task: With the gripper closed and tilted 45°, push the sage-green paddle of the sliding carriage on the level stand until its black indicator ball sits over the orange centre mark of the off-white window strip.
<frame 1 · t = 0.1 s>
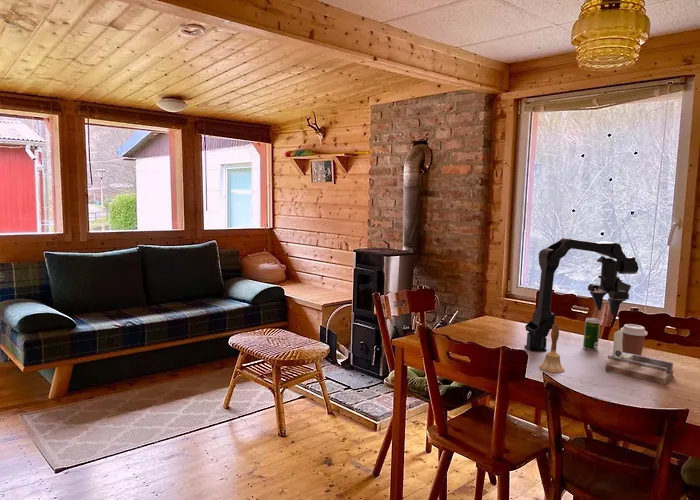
hand: (605, 312, 206), 15 cm above the table, tool pointing down, fingers open, 9 cm apart
beer can: (590, 349, 207), on the table
carriage: (621, 348, 181), point 8 cm above the table, slide at 0.0 cm
coffee cup: (631, 357, 197), on the table
level stand: (638, 373, 179), on the table
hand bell: (551, 369, 181), on the table
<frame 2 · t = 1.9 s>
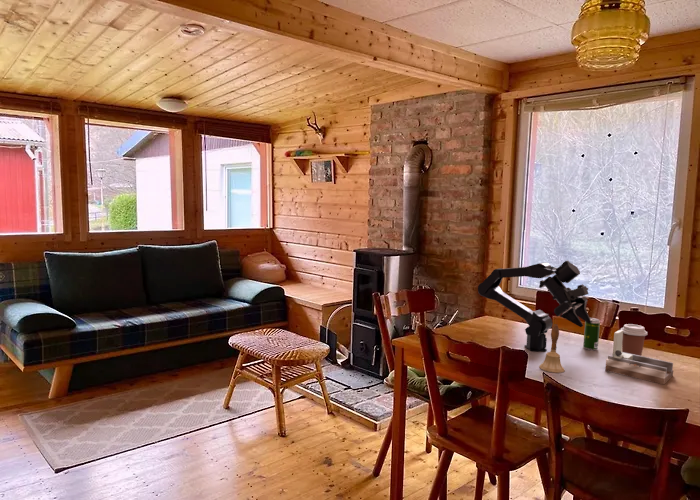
hand: (586, 324, 190), 13 cm above the table, tool tilted 45°, fingers open, 8 cm apart
nothing on the table moved.
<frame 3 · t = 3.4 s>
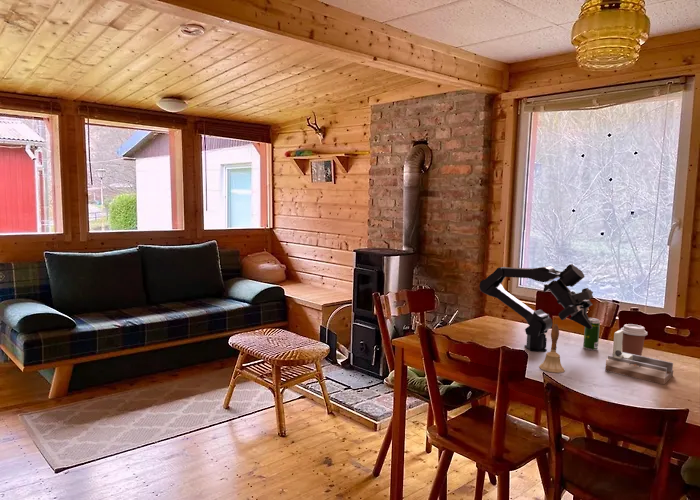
hand: (591, 328, 189), 12 cm above the table, tool tilted 45°, fingers closed
nothing on the table moved.
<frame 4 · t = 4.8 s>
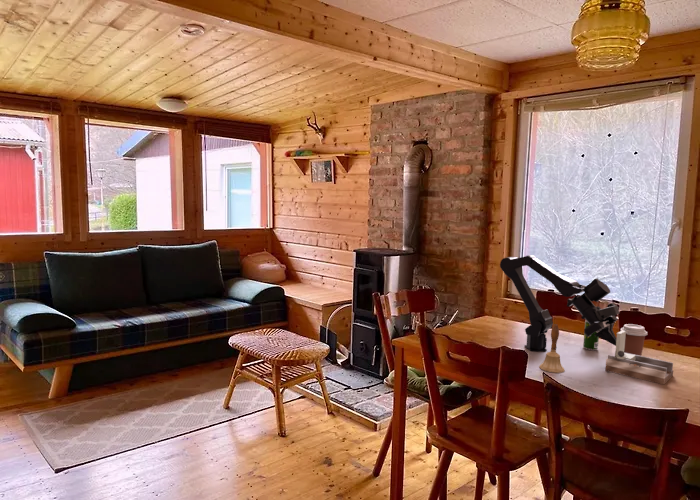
hand: (617, 345, 183), 8 cm above the table, tool tilted 45°, fingers closed, pressing on carriage
carriage: (624, 349, 180), point 8 cm above the table, slide at 0.9 cm, touching gripper
everything else where it was.
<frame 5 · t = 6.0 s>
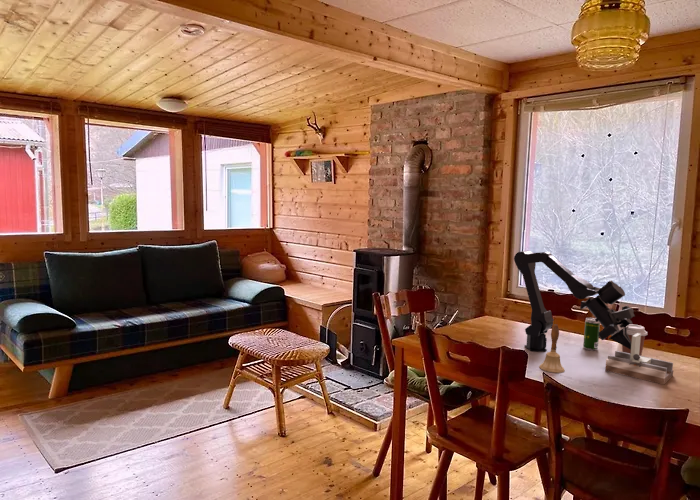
hand: (632, 348, 180), 8 cm above the table, tool tilted 45°, fingers closed
carriage: (639, 352, 177), point 8 cm above the table, slide at 5.7 cm
everything else where it was.
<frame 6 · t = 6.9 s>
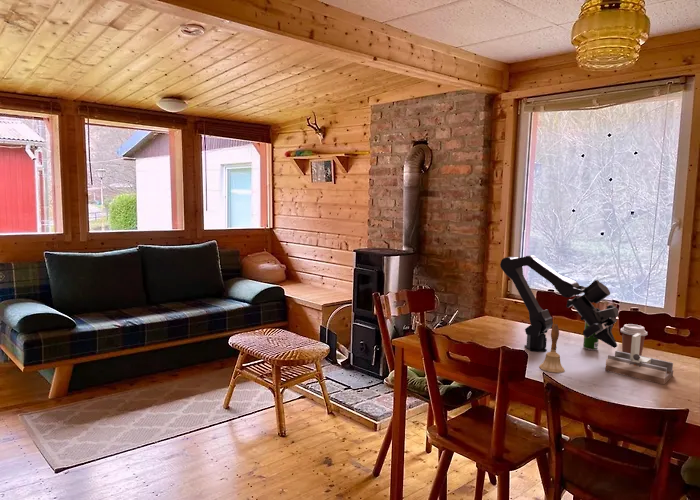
hand: (616, 347, 184), 7 cm above the table, tool tilted 45°, fingers closed
nothing on the table moved.
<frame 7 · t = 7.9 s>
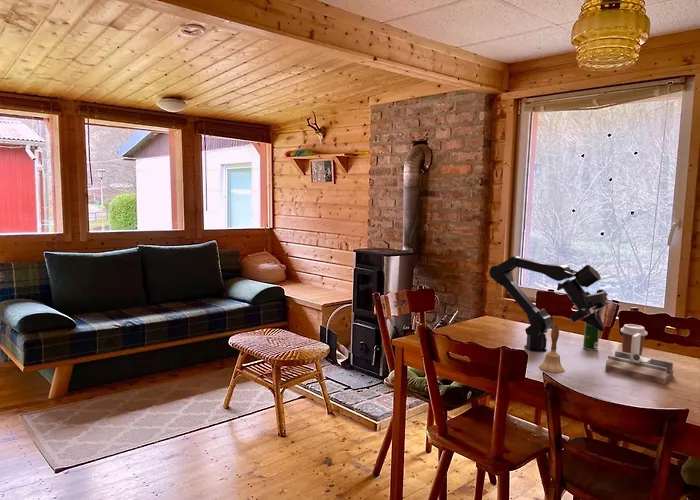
hand: (603, 330, 187), 12 cm above the table, tool tilted 40°, fingers closed
nothing on the table moved.
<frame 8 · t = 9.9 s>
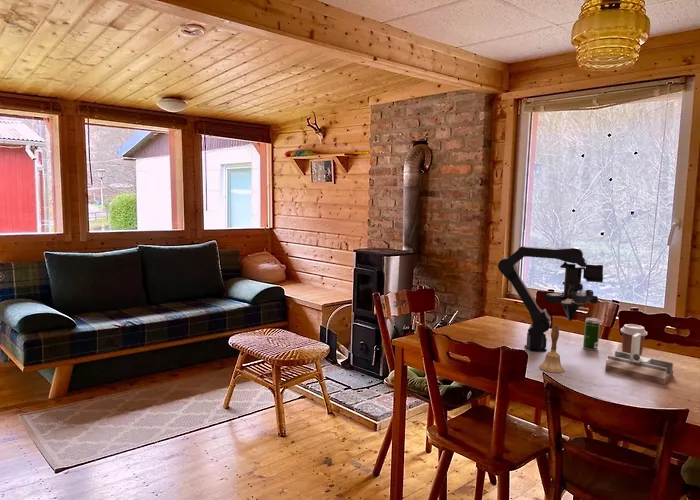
hand: (569, 320, 198), 13 cm above the table, tool pointing down, fingers closed
nothing on the table moved.
at the end: carriage slide at 5.7 cm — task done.
